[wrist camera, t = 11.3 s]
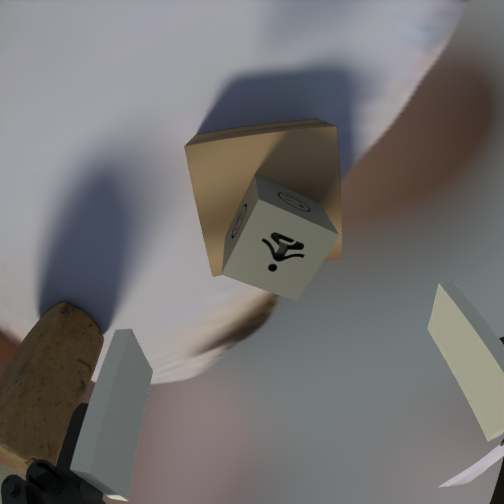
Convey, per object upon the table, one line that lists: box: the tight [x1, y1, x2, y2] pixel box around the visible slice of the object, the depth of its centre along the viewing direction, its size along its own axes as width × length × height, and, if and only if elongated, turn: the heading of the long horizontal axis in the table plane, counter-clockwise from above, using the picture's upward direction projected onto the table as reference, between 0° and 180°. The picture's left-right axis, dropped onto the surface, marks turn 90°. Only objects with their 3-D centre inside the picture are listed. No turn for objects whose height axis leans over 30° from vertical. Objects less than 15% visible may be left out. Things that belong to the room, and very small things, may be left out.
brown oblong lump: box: [0, 302, 104, 475], centre depth 26 cm, size 11×8×20 cm
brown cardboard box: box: [184, 119, 342, 276], centre depth 25 cm, size 10×10×6 cm
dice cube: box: [222, 174, 339, 301], centre depth 20 cm, size 5×5×5 cm
